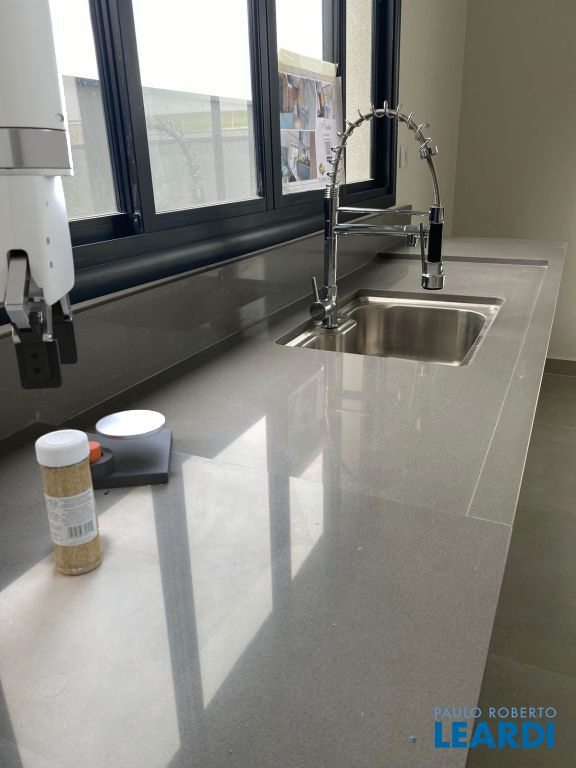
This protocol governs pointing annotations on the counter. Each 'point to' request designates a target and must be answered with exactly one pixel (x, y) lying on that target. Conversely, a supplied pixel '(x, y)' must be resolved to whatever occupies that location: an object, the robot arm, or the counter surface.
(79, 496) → the spice jar
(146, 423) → the weighing pan
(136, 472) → the scale
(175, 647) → the counter surface
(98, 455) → the tare button
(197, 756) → the counter surface
